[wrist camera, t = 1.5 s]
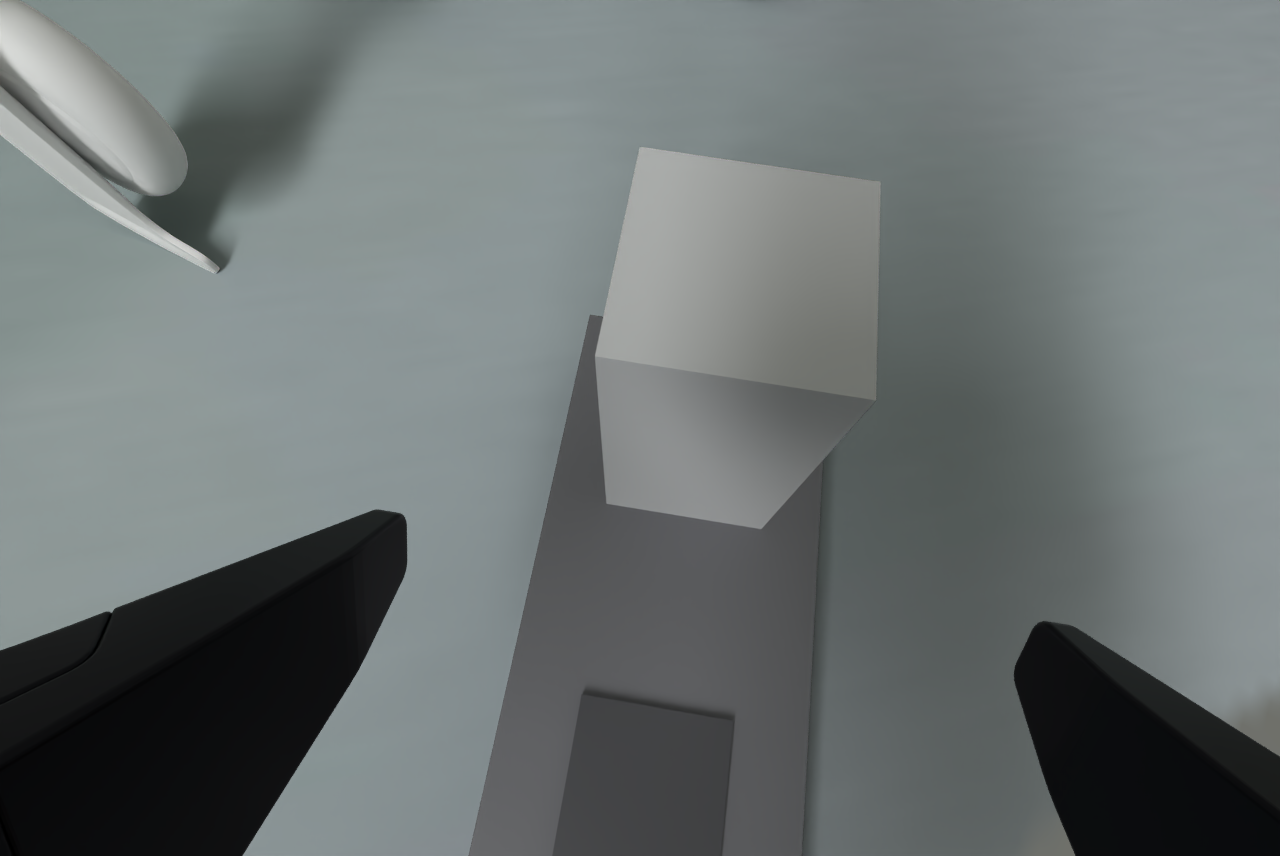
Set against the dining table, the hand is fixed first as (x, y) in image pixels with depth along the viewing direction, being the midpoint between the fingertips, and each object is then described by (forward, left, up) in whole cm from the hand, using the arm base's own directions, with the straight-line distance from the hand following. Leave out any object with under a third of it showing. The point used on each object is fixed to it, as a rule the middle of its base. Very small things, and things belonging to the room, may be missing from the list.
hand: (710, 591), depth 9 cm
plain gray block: (+4, -4, -12) cm, 13 cm away
